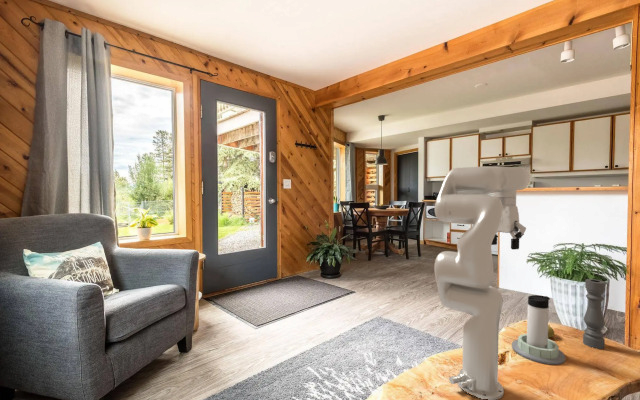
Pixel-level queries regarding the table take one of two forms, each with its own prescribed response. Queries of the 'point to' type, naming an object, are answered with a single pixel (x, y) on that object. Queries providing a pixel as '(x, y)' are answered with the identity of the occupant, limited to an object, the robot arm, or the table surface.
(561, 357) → the mug dock
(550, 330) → the sculpture
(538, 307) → the travel mug
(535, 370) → the table surface
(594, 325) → the candle holder
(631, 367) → the table surface
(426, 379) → the table surface
